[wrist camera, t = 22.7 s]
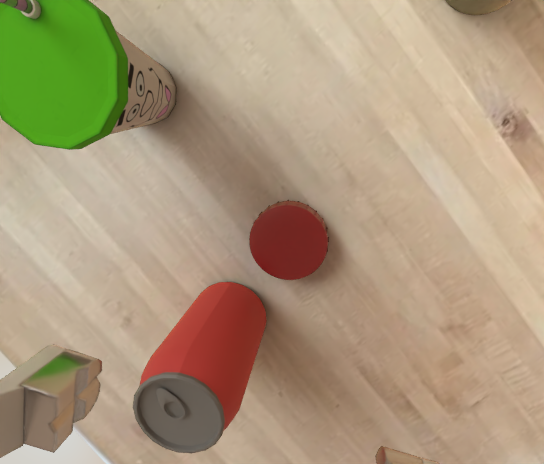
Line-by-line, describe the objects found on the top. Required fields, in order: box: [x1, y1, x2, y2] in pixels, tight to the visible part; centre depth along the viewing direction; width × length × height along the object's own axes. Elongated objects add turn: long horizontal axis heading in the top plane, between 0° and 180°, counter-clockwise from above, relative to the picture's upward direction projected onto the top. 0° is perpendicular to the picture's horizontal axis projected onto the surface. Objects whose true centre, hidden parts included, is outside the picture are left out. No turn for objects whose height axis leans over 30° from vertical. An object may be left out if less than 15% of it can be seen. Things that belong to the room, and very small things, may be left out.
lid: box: [249, 200, 329, 280], centre depth 27 cm, size 6×6×2 cm
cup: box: [0, 0, 176, 149], centre depth 20 cm, size 8×8×15 cm
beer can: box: [133, 282, 266, 453], centre depth 25 cm, size 7×7×12 cm
